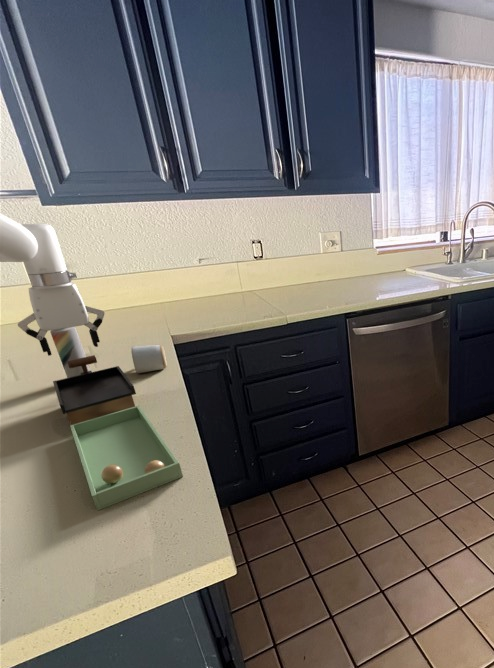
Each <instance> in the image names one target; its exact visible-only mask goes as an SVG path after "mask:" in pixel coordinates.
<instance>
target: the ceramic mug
mask: <svg viewBox="0 0 494 668" xmlns="http://www.w3.org/2000/svg"><path fill="white" fill-rule="evenodd" d="M131 358H132V363H133V367H134V370H135V372H136V374H142V373H143V374H144V373H149V372H155V371H161V370H164V369H166V368H167V367H168V362H167V356H166V351H165V348H164V346H163V345H161V344H152V345H139V346H132V347H131Z"/></svg>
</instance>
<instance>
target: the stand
mask: <svg viewBox="0 0 494 668" xmlns="http://www.w3.org/2000/svg"><path fill="white" fill-rule="evenodd" d="M135 406H136V403H135V401H134V398H133V395H131V396H127V397H123V398H120V399H116V400H112V401H109V402H105V403H101V404H98V405H94V406H91V407H87V408H83V409H80V410H76V411H72V412H69V413H66V416H67V419H68V421H69V424H70V425H73V424H77V423H80V422H84V421H87V420H91V419H94V418H97V417H101V416H104V415H108V414H111V413H115V412H118V411H122V410H125V409H129V408H132V407H135Z"/></svg>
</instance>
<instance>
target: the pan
mask: <svg viewBox="0 0 494 668" xmlns="http://www.w3.org/2000/svg"><path fill="white" fill-rule="evenodd" d="M67 363H68V366H69V369H71V368H75V367H80V366H81V367H82V370H83V372H82V373H80V374H81V375H78V376H74V377H69V378H67V377H65V378H61V379H57V380H53V381H52V383H53V387H54V390H55V394H56V398H57V401H58V403H59V407H60V409H61V412H62V414H63V415H64V414H67V413H69V412H72V411H76V410H80V409H83V408H87V407H91V406H94V405H98V404H101V403H105V402H109V401H112V400H116V399H120V398H123V397H127V396H131V395H132V396H134V395H137V393H136V389H135V386H134V384H133V382H131V380H130V379H129V378H128V377H127V375H126V374H125V372H124V371H123V370H122V369H121V368H120V365H116V366H113V367H108V368H104V369H99V370H96V371H95V370H94V371H92V370H91V371H88V369H87V367H86V365H89V366H90V365H92V364H97V363H98V360H97V356H96V354H93V355H87V356H86V357H83V358H79V359H74V360H69V361H67Z"/></svg>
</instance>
